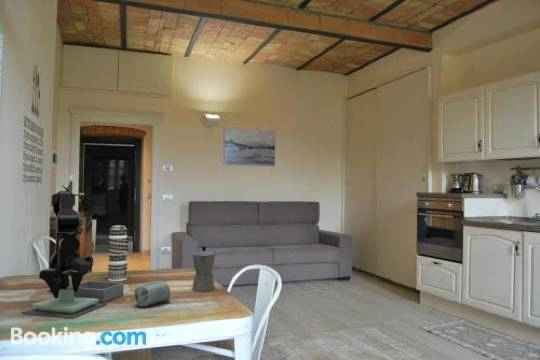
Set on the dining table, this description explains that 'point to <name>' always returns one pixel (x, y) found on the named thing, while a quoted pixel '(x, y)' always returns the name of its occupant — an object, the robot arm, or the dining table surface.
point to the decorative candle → (117, 253)
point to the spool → (152, 293)
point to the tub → (99, 290)
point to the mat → (63, 315)
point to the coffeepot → (203, 271)
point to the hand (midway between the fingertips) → (66, 295)
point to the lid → (65, 303)
